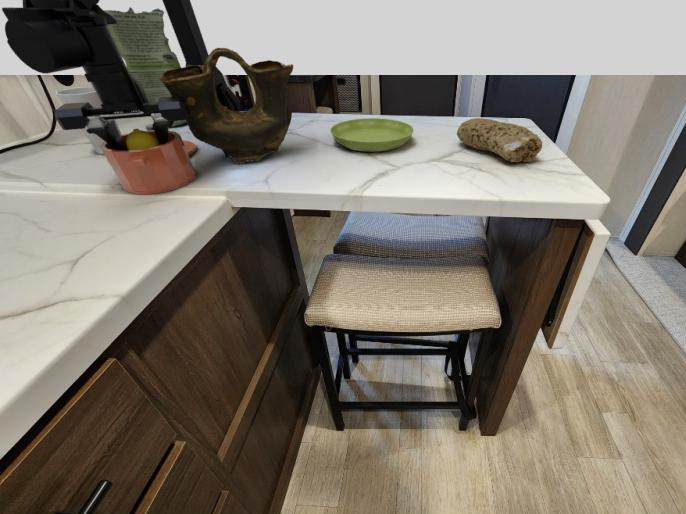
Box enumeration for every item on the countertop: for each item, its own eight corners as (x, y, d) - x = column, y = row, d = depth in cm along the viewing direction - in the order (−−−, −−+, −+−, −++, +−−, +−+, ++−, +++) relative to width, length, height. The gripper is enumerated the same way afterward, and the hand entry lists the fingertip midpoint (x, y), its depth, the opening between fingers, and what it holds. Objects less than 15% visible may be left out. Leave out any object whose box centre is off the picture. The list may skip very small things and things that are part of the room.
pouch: (144, 127, 91) (86, 7, 74) (171, 116, 100) (125, 6, 83) (181, 129, 90) (132, 7, 73) (206, 118, 99) (166, 6, 82)
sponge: (541, 166, 76) (494, 124, 86) (551, 133, 69) (500, 92, 80) (491, 184, 74) (450, 139, 84) (497, 152, 67) (451, 108, 78)
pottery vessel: (301, 141, 83) (283, 43, 70) (312, 155, 76) (295, 48, 63) (193, 156, 75) (149, 47, 62) (194, 173, 68) (144, 54, 55)
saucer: (424, 152, 79) (425, 137, 76) (338, 160, 74) (336, 145, 72) (400, 127, 93) (400, 115, 91) (327, 133, 89) (325, 120, 87)
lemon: (165, 165, 67) (145, 122, 62) (178, 172, 65) (158, 128, 59) (136, 173, 64) (112, 129, 58) (148, 181, 61) (124, 135, 56)
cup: (112, 156, 75) (77, 95, 66) (83, 153, 76) (45, 93, 67) (139, 145, 80) (110, 87, 72) (111, 142, 81) (80, 86, 73)
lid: (198, 142, 82) (188, 115, 78) (195, 160, 73) (183, 131, 69) (136, 148, 79) (122, 120, 74) (125, 168, 69) (108, 138, 65)
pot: (198, 160, 73) (183, 124, 68) (193, 194, 61) (174, 152, 56) (133, 168, 70) (112, 130, 65) (114, 205, 57) (86, 161, 52)
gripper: (173, 54, 60) (206, 143, 71) (49, 58, 55) (105, 154, 66) (166, 63, 53) (205, 161, 63) (22, 68, 48) (90, 175, 58)
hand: (152, 162), depth 63 cm, fingers closed on lemon, 5 cm apart
